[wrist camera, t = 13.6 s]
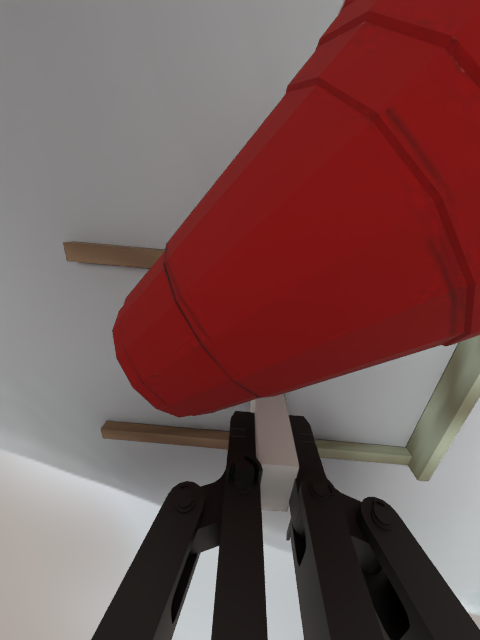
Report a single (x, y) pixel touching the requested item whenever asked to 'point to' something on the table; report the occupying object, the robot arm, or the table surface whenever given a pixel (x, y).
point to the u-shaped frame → (420, 453)
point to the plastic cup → (327, 223)
